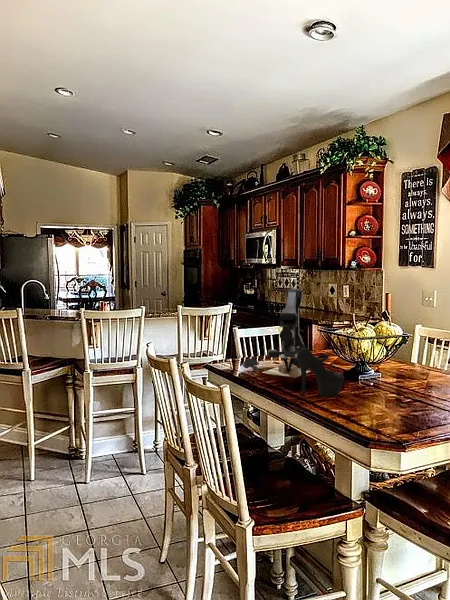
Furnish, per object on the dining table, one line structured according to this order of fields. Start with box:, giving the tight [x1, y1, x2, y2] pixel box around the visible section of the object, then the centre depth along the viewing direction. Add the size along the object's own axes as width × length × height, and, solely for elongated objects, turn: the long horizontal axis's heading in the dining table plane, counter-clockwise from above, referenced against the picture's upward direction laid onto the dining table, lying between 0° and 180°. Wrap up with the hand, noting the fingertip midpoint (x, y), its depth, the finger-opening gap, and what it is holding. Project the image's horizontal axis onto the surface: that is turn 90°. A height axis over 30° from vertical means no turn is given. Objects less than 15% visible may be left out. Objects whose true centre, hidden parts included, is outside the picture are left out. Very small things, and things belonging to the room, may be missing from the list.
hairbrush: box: [243, 357, 260, 372], centre depth 252 cm, size 8×4×25 cm
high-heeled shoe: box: [297, 346, 345, 398], centre depth 203 cm, size 8×19×20 cm, turn 94°
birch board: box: [261, 366, 312, 379], centre depth 240 cm, size 16×18×1 cm
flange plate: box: [277, 363, 299, 378], centre depth 236 cm, size 14×7×3 cm, turn 13°
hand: (288, 372), depth 232 cm, fingers closed
